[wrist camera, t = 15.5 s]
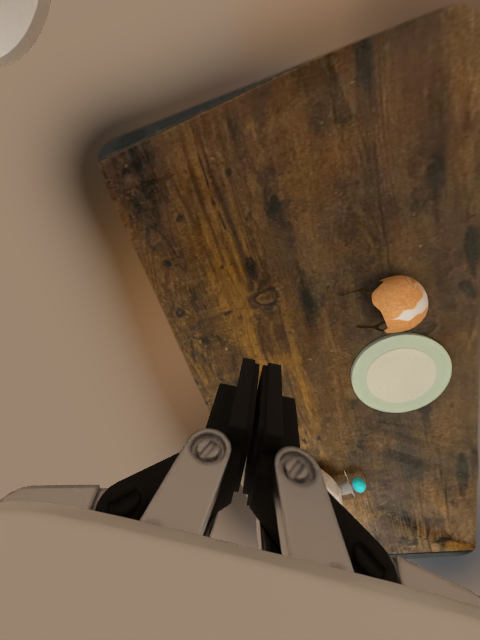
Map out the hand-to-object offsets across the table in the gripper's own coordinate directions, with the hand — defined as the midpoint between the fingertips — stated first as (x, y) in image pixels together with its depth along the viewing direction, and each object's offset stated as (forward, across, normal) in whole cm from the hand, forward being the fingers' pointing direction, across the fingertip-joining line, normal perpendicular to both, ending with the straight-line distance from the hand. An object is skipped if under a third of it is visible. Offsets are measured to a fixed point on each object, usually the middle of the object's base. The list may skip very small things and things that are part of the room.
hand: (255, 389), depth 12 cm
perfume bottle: (+22, -15, +30) cm, 41 cm away
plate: (+22, -19, +10) cm, 31 cm away
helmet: (+22, -14, 0) cm, 26 cm away
